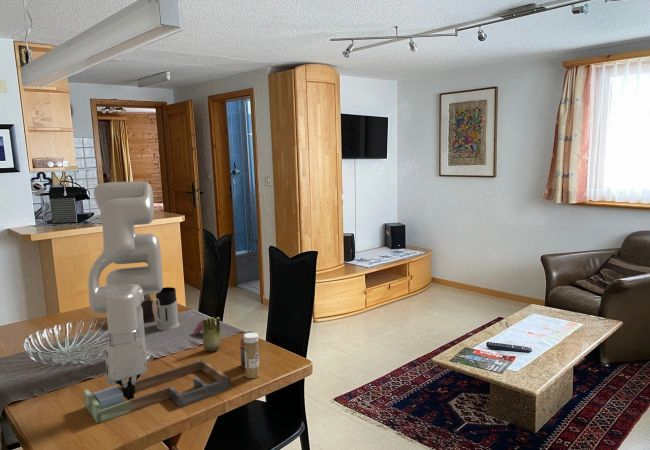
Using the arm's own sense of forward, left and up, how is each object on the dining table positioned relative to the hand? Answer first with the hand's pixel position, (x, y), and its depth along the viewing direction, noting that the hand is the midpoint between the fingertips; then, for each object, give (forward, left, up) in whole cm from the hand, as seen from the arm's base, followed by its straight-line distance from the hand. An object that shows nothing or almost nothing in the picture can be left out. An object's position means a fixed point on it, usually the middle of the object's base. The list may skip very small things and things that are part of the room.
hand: (129, 397), depth 137 cm
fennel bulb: (-16, +34, -2) cm, 38 cm away
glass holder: (-48, +30, -2) cm, 57 cm away
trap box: (+3, +8, -1) cm, 9 cm away
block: (0, -6, -2) cm, 6 cm away
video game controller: (-30, +40, -2) cm, 50 cm away
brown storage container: (-67, +27, -2) cm, 72 cm away
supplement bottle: (+4, +37, -2) cm, 38 cm away
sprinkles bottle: (+10, +34, -2) cm, 36 cm away
